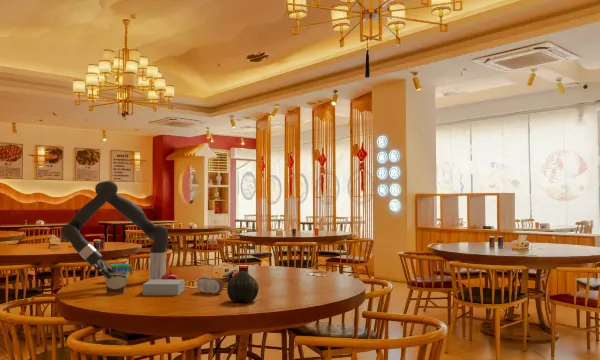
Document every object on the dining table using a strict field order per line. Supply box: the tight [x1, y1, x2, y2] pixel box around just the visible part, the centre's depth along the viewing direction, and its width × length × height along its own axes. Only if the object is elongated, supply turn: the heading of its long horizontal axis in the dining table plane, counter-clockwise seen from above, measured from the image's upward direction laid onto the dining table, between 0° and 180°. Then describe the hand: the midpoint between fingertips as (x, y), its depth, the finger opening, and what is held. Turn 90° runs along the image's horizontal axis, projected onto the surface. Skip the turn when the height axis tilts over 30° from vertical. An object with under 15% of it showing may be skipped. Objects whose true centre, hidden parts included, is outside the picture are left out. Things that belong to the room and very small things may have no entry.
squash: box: [226, 270, 260, 303], centre depth 245 cm, size 14×15×15 cm
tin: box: [196, 276, 224, 295], centre depth 266 cm, size 15×3×8 cm, turn 65°
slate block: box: [142, 279, 185, 296], centre depth 267 cm, size 16×18×6 cm
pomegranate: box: [161, 269, 179, 280], centre depth 287 cm, size 10×10×9 cm
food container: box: [103, 273, 129, 295], centre depth 267 cm, size 12×6×10 cm, turn 84°
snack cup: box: [110, 263, 134, 281], centre depth 305 cm, size 16×10×10 cm
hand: (112, 276), depth 267 cm, fingers open, 8 cm apart
